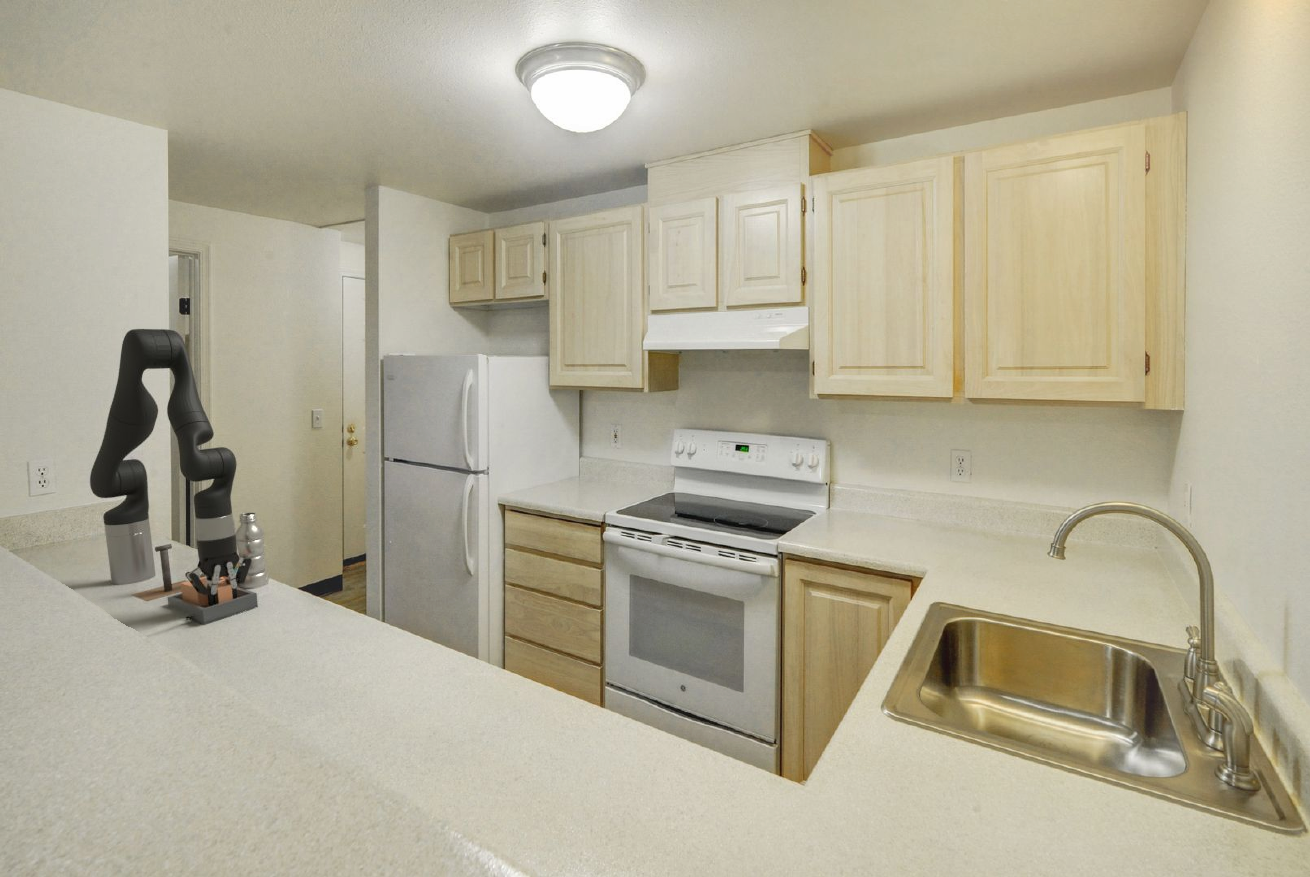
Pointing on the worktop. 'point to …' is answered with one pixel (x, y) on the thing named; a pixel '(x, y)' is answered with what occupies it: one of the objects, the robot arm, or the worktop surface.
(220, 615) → the tray
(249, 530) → the plastic bottle
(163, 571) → the stake stand
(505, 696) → the worktop surface
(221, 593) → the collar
